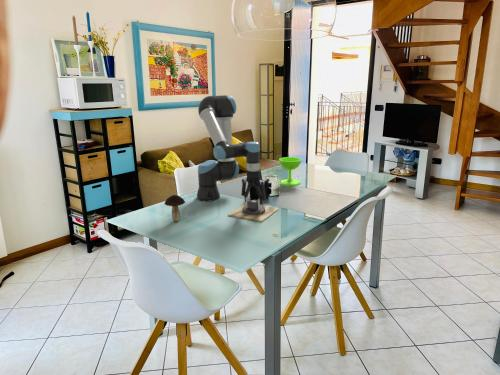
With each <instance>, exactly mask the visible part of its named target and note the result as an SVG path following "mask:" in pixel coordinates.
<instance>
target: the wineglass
mask: <svg viewBox="0 0 500 375" xmlns="http://www.w3.org/2000/svg"><path fill="white" fill-rule="evenodd" d="M278 161H279V164H280V166H281V167H282V168H283V169H284V170H286V171H288V178H286V179H282V180H280V181H281V185H280V186H283V187H284V186H285V187H296V186H300V185H301V184H302V182H301V181H300V180H298V179H294V178H293V179H292V171H294V170H296V169H298V168H299V166H300V165H301V162H302V158H300V157H295V156H287V157H280V158H279V159H278Z"/></svg>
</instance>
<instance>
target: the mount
mask: <svg viewBox="0 0 500 375" xmlns="http://www.w3.org/2000/svg"><path fill="white" fill-rule="evenodd" d="M279 210H280V208H279V207H274V206H273V207H272V206H268V205H262V209H261V210H259V211H256V212H251V211H248V208H246V203H244V204H243V205H241V206H239V207H238V208H235V209H234V210H233V211H231V212H229V213H228V214H227V216H228V217H232V218H238V219H243V220H250V221H255V222H259V223H263V222H265V221H266V220H268V219H269V218H270V217H271V216H272V215H274V214H275V213H276V212H278V211H279Z"/></svg>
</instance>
